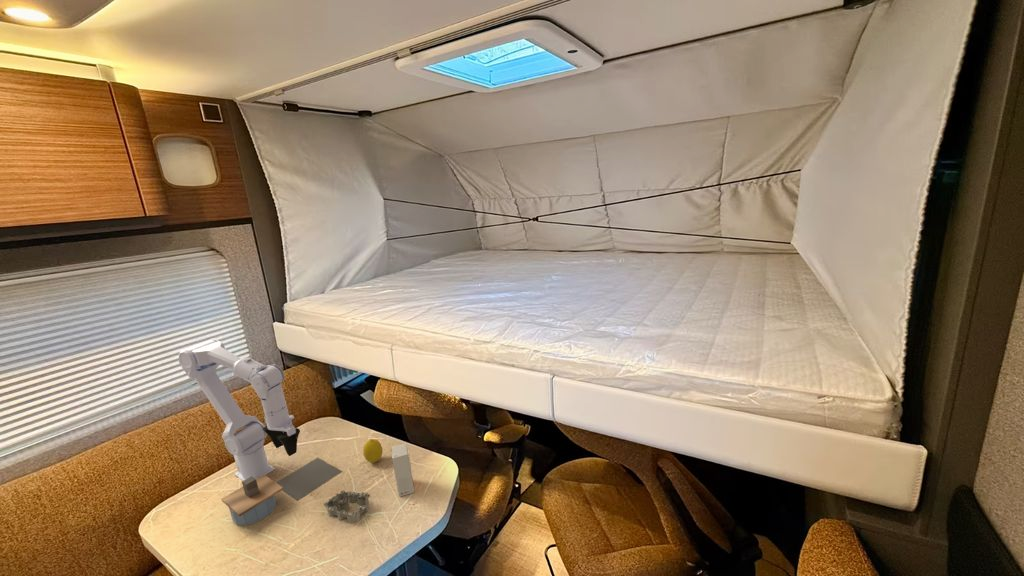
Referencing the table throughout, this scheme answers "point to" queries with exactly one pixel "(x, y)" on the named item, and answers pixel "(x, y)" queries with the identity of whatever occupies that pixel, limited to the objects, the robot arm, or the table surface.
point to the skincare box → (402, 469)
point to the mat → (308, 478)
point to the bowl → (255, 512)
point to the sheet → (254, 500)
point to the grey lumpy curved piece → (344, 505)
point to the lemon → (372, 450)
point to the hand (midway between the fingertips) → (286, 450)
